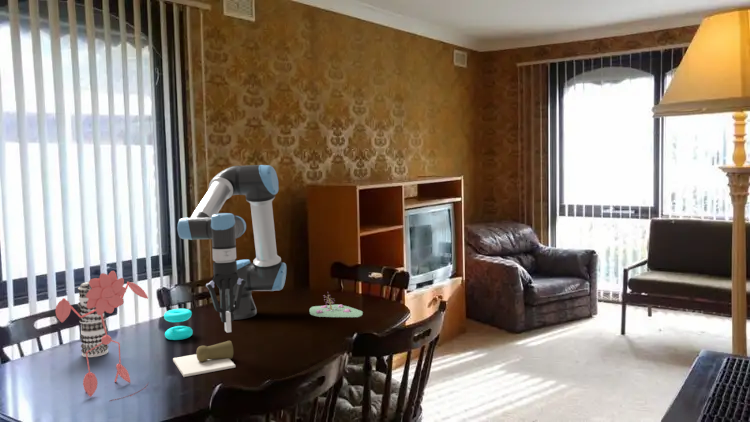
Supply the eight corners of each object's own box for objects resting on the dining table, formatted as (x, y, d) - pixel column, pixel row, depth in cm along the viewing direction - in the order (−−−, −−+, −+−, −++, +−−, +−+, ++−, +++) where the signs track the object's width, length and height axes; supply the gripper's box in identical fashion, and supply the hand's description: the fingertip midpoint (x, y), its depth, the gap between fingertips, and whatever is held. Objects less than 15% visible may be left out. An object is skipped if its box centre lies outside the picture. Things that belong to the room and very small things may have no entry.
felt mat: (173, 360, 203) (172, 358, 203) (221, 352, 211) (221, 349, 211) (183, 377, 187) (183, 374, 187) (235, 367, 195) (235, 364, 195)
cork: (227, 354, 207) (194, 359, 201) (227, 337, 205) (194, 342, 200) (232, 361, 202) (199, 367, 196) (233, 344, 200) (200, 349, 195)
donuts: (158, 311, 229) (182, 306, 236) (160, 337, 230) (184, 331, 237) (172, 315, 222) (196, 310, 229) (173, 342, 223) (198, 336, 230)
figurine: (54, 400, 171) (47, 277, 168) (138, 373, 192) (133, 262, 188) (83, 414, 162) (76, 284, 159) (167, 384, 183) (163, 268, 179)
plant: (374, 309, 266) (373, 289, 266) (353, 321, 248) (352, 299, 247) (323, 305, 276) (322, 285, 276) (300, 316, 258) (299, 295, 257)
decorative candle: (115, 350, 216) (111, 280, 214) (95, 358, 207) (91, 285, 205) (95, 348, 219) (90, 279, 217) (74, 356, 210) (69, 284, 208)
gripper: (207, 264, 194) (211, 337, 196) (247, 260, 200) (250, 331, 202) (202, 261, 200) (205, 331, 202) (241, 257, 206) (244, 325, 208)
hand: (228, 331), depth 202 cm, fingers closed
